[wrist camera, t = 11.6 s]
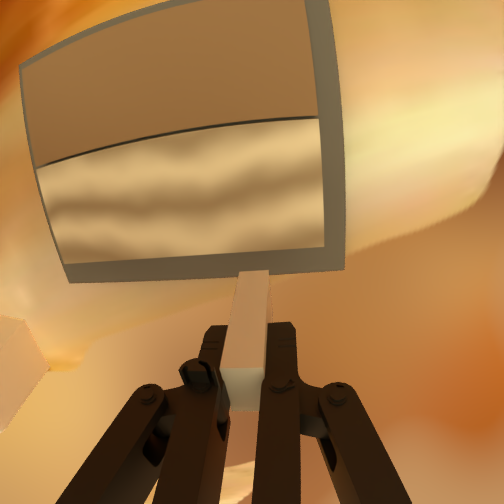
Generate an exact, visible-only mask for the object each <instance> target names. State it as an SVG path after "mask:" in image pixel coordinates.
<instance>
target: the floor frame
mask: <svg viewBox="0 0 504 504" xmlns="http://www.w3.org/2000/svg"><path fill="white" fill-rule="evenodd" d="M19 75H20V88H21V97H22V106H23V114H24V121H25V127H26V133H27V139H28V145H29V150H30V155H31V160H32V164H33V169H34V173H35V178H36V182H37V186H38V190H39V194H40V197H41V201H42V205H43V208H44V212H45V215H46V218H47V222H48V225H49V228H50V231H51V234H52V237H53V240H54V243H55V246H56V249H57V252H58V255H59V257H60V260H61V263H62V265H63V268H64V271H65V273H66V276H67V278H68V281H69V283H102V282H134V281H161V280H185V279H206V278H226V277H238V276H239V272H244V271H260V270H269V275H279V274H295V273H310V272H324V271H338V270H344V267H345V266H344V265H345V226H346V199H345V158H344V136H343V120H342V107H341V95H340V84H339V74H338V65H337V56H336V48H335V41H334V34H333V27H332V20H331V14H330V8H329V2H328V0H170V1H166V2H162V3H159V4H155V5H152V6H149V7H145V8H142V9H139V10H136V11H133V12H130V13H127V14H124V15H122V16H119V17H116V18H113V19H111V20H108V21H106V22H103V23H101V24H98V25H96V26H93V27H91V28H89V29H86V30H84V31H82V32H80V33H78V34H75V35H73V36H71V37H69V38H67V39H65V40H63V41H61V42H59V43H57V44H55V45H53V46H51V47H49V48H48V49H46V50H44V51H42V52H40V53H39V54H37V55H35V56H33V57H32V58H30V59H28V60H26V61H25V62H23V63H22V64H20V65H19ZM303 118H317V119H319V129H320V144H321V160H322V179H323V205H324V247H313V248H298V249H283V250H268V251H253V252H238V253H223V254H207V255H192V256H177V257H162V258H147V259H132V260H117V261H102V262H87V263H72V264H64V262H63V259H62V256H61V254H60V251H59V248H58V245H57V242H56V239H55V236H54V233H53V230H52V227H51V224H50V220H49V217H48V214H47V210H46V207H45V203H44V200H43V196H42V192H41V188H40V184H39V180H38V176H37V172H36V169H39V168H41V167H43V166H46V165H49V164H52V163H55V162H58V161H62V160H65V159H68V158H71V157H75V156H78V155H82V154H85V153H89V152H93V151H97V150H100V149H104V148H108V147H112V146H116V145H121V144H125V143H129V142H134V141H138V140H143V139H148V138H153V137H158V136H163V135H168V134H174V133H179V132H185V131H191V130H197V129H204V128H211V127H218V126H226V125H234V124H242V123H252V122H262V121H273V120H287V119H303Z"/></svg>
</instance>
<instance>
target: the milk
mask: <svg viewBox="0 0 504 504" xmlns="http://www.w3.org/2000/svg"><path fill="white" fill-rule="evenodd" d="M49 368H50V366H49V364H48V362H47V361H46V359H45V357H44V355H43V354H42V352H41V350H40V348H39V346H38V345H37V343H36V341H35V339H34V337H33V335H32V333H31V331H30V329H29V327H28V325H27V323H26V321H25V320H24V319H19V318H14V317H9V316H4V315H0V433H1V432H3V431H4V430H5V429H6V428H7V427H8V425H9V423H10V422H11V421H12V419H13V417H14V416H15V415H16V413H17V412H18V410H19V409H20V408H21V406H22V405H23V403H24V402H25V400H26V399H27V397H28V396H29V395H30V393H31V392H32V391H33V389H34V388H35V387H36V385H37V384H38V382H39V381H40V380H41V378H42V377H43V376H44V374H45V373H46V372H47V370H48V369H49Z"/></svg>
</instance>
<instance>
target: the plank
mask: <svg viewBox="0 0 504 504" xmlns="http://www.w3.org/2000/svg"><path fill="white" fill-rule="evenodd" d="M36 172H37V176H38V180H39V184H40V188H41V192H42V196H43V200H44V203H45V207H46V210H47V214H48V217H49V220H50V224H51V227H52V230H53V233H54V236H55V239H56V242H57V245H58V248H59V251H60V254H61V256H62V259H63V262H64V264H72V263H87V262H102V261H117V260H132V259H147V258H162V257H177V256H192V255H207V254H223V253H238V252H253V251H268V250H283V249H298V248H313V247H324V205H323V179H322V160H321V144H320V129H319V119H317V118H303V119H287V120H273V121H262V122H252V123H242V124H234V125H226V126H218V127H211V128H204V129H197V130H191V131H185V132H179V133H174V134H168V135H163V136H158V137H153V138H148V139H143V140H138V141H134V142H129V143H125V144H121V145H116V146H112V147H108V148H104V149H100V150H97V151H93V152H89V153H85V154H82V155H78V156H75V157H71V158H68V159H65V160H62V161H58V162H55V163H52V164H49V165H46V166H43V167H41V168H39V169H36Z"/></svg>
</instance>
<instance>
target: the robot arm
mask: <svg viewBox="0 0 504 504" xmlns="http://www.w3.org/2000/svg"><path fill="white" fill-rule="evenodd" d="M272 316H273V311H272V301H271V291H270V280H269V270H260V271H244V272H239V276H238V280H237V285H236V290H235V295H234V300H233V305H232V310H231V314H230V319H229V324H228V325H216V326H211V327H210V328H209V329H208V330H207V331H206V333H205V335H204V338H203V343H202V345H201V350H200V353H199V356H198V358H194V359H191V360H188V361H186V362H185V363H184V364H183V365H182V366H181V367H180V369H179V373H180V375H181V378H182V380H183V382H184V385H182V386H180V387H177V388H173V389H168V390H162V388H161V387H160V386H158V385H156V384H146V385H143V386H141V387H139V388H138V389H137V390H136V391H135V392H134V393H133V394H132V396H131V397H130V398H129V400H128V401H127V403H126V404H125V405H124V407H123V408H122V410H121V411H120V412H119V414H118V415H117V417H116V418H115V419H114V421H113V422H112V424H111V425H110V426H109V428H108V429H107V431H106V432H105V433H104V435H103V436H102V438H101V439H100V441H99V442H98V443H97V445H96V446H95V448H94V449H93V450H92V452H91V453H90V455H89V456H88V457H87V459H86V460H85V462H84V463H83V465H82V466H81V467H80V469H79V470H78V472H77V473H76V475H75V476H74V477H73V479H72V480H71V482H70V483H69V485H68V486H67V487H66V489H65V490H64V492H63V493H62V495H61V496H60V498H59V499H58V500H57V502H56V503H55V504H144V502H145V501H146V499H147V497H148V495H149V494H150V492H151V490H152V488H153V487H154V485H155V483H156V481H157V480H158V483H157V486H156V490H155V494H154V498H153V502H152V504H219V500H220V493H221V486H222V479H223V472H224V465H225V458H226V451H227V443H228V436H229V429H230V417H229V409H230V406H231V410H232V411H259V421H258V434H257V446H256V458H255V470H254V481H253V493H252V504H301V479H300V478H301V472H300V471H301V469H300V468H301V466H300V464H301V462H300V434H302V435H307V436H312V437H316V439H317V442H318V444H319V447H320V450H321V452H322V455H323V458H324V461H325V463H326V466H327V469H328V471H329V474H330V477H331V480H332V482H333V485H334V488H335V490H336V493H337V496H338V498H339V501H340V504H412V502H411V500H410V498H409V496H408V494H407V492H406V490H405V488H404V486H403V483H402V481H401V479H400V477H399V476H398V473H397V471H396V469H395V467H394V465H393V463H392V461H391V459H390V457H389V455H388V453H387V452H386V450H385V448H384V446H383V443H382V442H381V440H380V438H379V436H378V434H377V432H376V430H375V428H374V426H373V424H372V422H371V420H370V418H369V416H368V414H367V412H366V411H365V408H364V407H363V405H362V403H361V401H360V399H359V397H358V395H357V393H356V391H355V390H354V389H353V388H352V387H351V386H350V385H348V384H346V383H341V382H336V383H330V384H328V385H326V386H324V387H323V388H318V387H314V386H310V385H308V384H306V383H304V382H303V381H302V380H301V379H300V377H299V375H298V368H297V347H296V329H295V328H294V327H293V325H292V323H291V322H278V323H272ZM158 478H159V479H158Z"/></svg>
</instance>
